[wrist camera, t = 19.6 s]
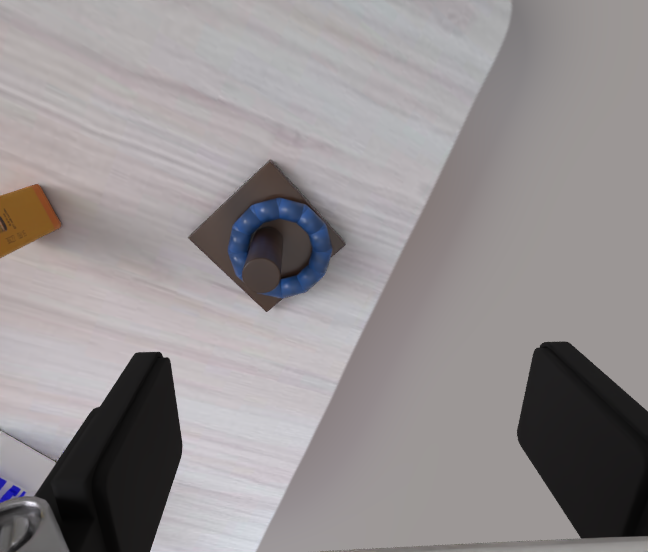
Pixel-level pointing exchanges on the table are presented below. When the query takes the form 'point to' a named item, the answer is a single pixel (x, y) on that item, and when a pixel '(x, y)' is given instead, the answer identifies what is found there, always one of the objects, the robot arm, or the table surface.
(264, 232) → the peg
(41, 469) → the red patterned cube box
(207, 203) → the table surface
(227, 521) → the table surface
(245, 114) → the table surface
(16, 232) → the supplement box
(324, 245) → the ring
